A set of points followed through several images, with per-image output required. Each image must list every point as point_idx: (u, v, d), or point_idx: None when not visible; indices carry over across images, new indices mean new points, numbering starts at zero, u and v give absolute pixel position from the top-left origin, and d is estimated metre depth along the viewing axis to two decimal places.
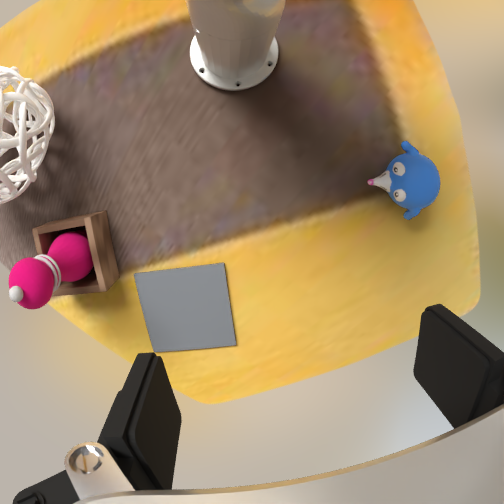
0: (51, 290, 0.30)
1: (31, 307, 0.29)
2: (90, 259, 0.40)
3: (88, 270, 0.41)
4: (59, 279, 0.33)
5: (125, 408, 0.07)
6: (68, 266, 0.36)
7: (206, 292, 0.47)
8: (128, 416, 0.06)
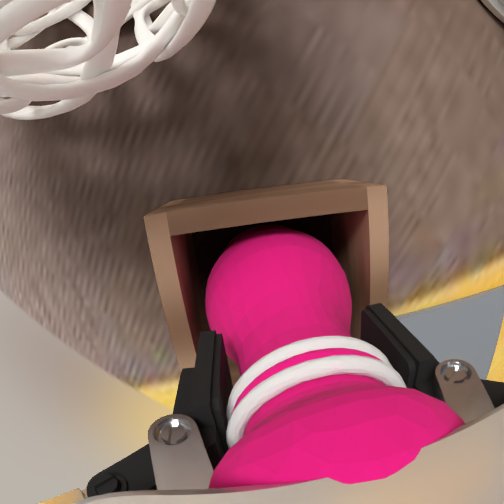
0: None
1: None
2: None
3: None
4: None
5: (203, 379, 0.08)
6: None
7: (479, 335, 0.22)
8: (210, 386, 0.07)
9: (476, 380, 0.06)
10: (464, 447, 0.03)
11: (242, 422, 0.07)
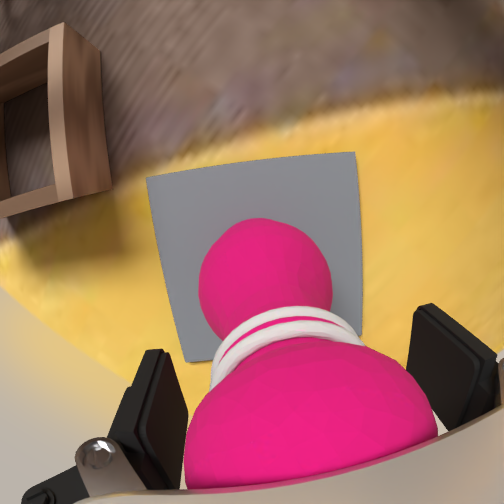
0: None
1: None
2: None
3: None
4: None
5: (135, 403, 0.07)
6: None
7: (316, 216, 0.21)
8: (139, 412, 0.07)
9: None
10: (464, 447, 0.03)
11: (222, 379, 0.08)
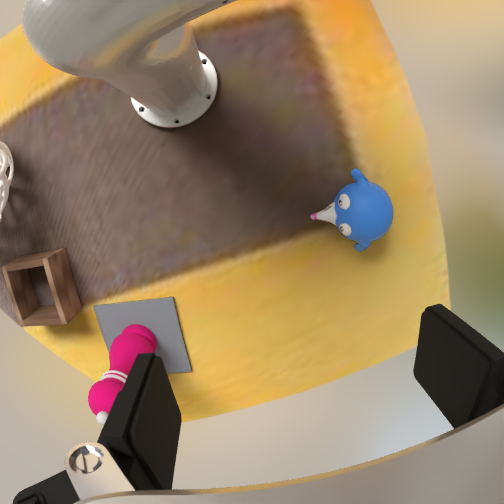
0: None
1: None
2: None
3: None
4: None
5: (125, 408, 0.07)
6: None
7: (158, 324, 0.48)
8: (128, 416, 0.06)
9: None
10: (464, 447, 0.03)
11: None
